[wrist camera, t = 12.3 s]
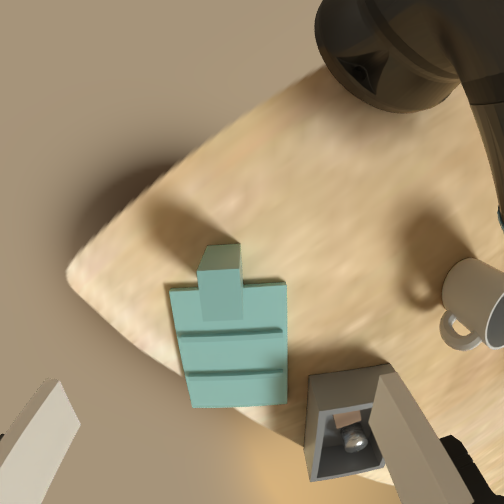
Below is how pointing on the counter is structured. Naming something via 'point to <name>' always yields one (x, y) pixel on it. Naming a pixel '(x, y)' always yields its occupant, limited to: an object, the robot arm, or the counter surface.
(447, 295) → the cup
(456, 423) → the counter surface
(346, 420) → the part block
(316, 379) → the tub
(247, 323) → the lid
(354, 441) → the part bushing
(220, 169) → the counter surface
